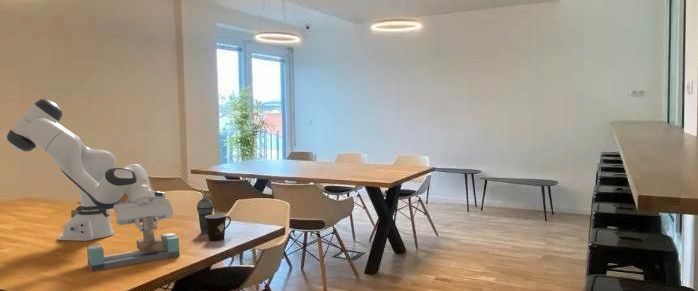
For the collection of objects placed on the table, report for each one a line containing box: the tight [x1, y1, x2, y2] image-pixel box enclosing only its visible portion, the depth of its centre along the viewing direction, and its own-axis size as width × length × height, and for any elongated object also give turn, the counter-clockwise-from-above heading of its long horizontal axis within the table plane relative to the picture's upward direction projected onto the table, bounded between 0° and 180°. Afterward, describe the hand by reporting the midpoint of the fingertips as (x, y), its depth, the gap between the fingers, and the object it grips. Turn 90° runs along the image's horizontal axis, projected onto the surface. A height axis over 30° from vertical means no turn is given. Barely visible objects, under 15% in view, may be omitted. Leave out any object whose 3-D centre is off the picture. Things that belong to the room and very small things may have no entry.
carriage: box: [136, 217, 162, 253], centre depth 192 cm, size 7×9×12 cm
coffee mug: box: [205, 213, 232, 242], centre depth 219 cm, size 12×9×10 cm
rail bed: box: [86, 232, 181, 272], centre depth 189 cm, size 30×10×8 cm, turn 124°
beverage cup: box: [196, 188, 214, 235], centre depth 230 cm, size 7×7×20 cm
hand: (148, 229), depth 191 cm, fingers closed on carriage, 3 cm apart
